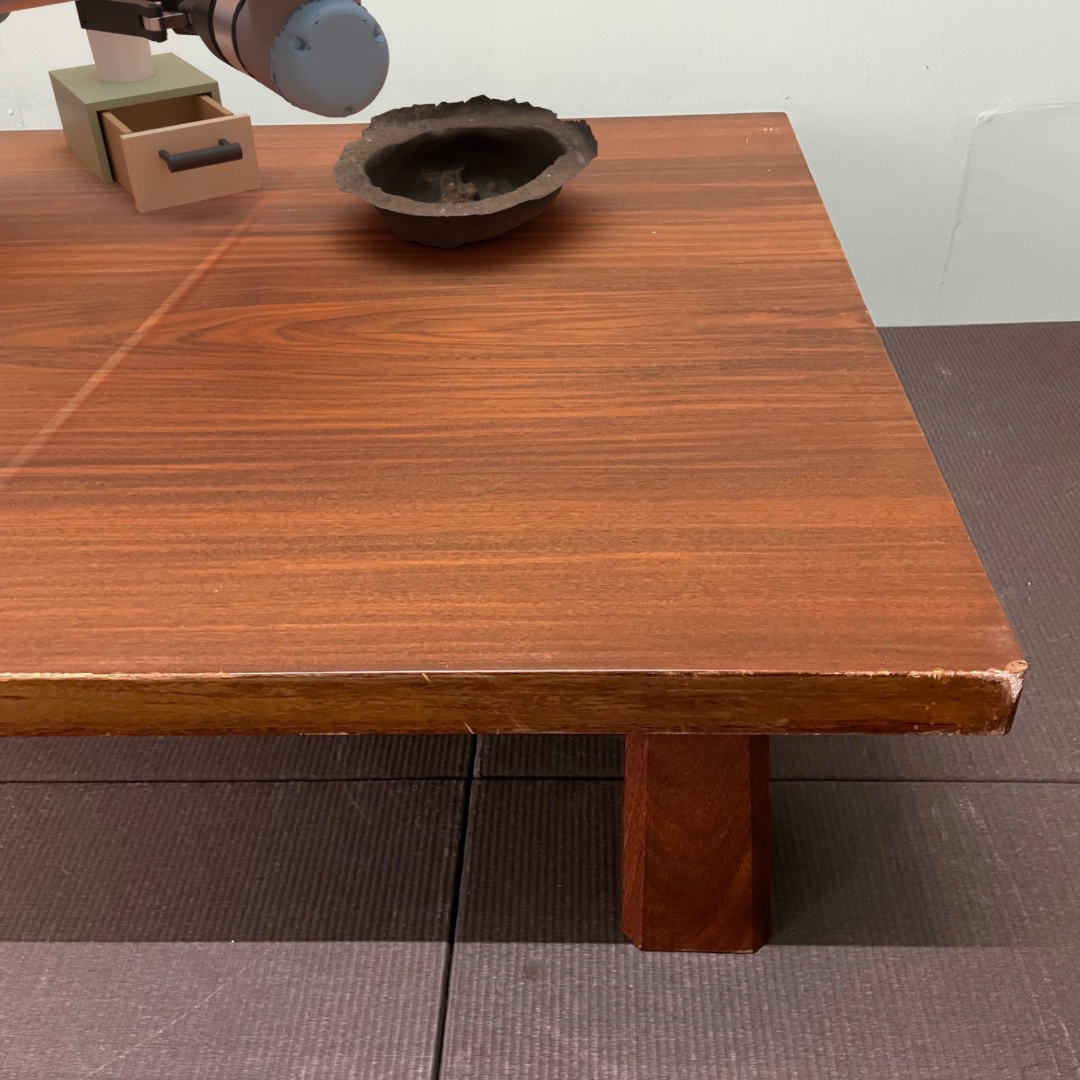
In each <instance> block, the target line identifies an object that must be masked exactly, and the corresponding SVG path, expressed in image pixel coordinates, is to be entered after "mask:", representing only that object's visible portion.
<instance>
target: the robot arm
mask: <svg viewBox="0 0 1080 1080" xmlns="http://www.w3.org/2000/svg"><path fill="white" fill-rule="evenodd" d="M69 2H70V3H71V2H74V4H75V9H76V12H77V13H76V14H77V17H78V22H79V25H80V29H82V30H85V31H86V30H95V31H102V32H109V33H115V34H122V35H129V36H136V37H143V38H146V39H148V40H149V41H150V42H154V43H155V42H156V43H157V44H162V43H164V42H166V41H168V40H169V39H168V35H169V33H168V30H170V29H171V30H172V32H174V34H176V35H179V36H195V37H197V36H199V39H200V40H201V41H202V42H203V44H204V45H205V47H206V48H207V49H208V50H209V51H210V53H211V54H212V55H213V56H214V57H216V58H217V59H218V60H219V61H221V62H222V63H224V64H226V65H228V66H230V67H231V68H233V69H235V70H236V71H238V72H241V73H242V74H245V75H246V76H248V77H250V78H252V79H253V80H255V82H258V83H259V84H260V85H262V86H264V87H266V88H267V89H268V90H270V91H272V92H273V93H274V94H276V95H278V96H279V97H280V98H282V99H283V100H284V101H286V102H287V103H288V104H290V106H293V107H294V108H297V109H299V110H301V111H306V112H308V113H312V114H315V115H317V116H320V117H325V118H331V119H338V118H344V119H345V118H347V117H350V116H353V115H355V114H358V113H360V112H361V111H363V110H365V109H366V108H368V106H370V105H371V104H372V103H373V102H374V101H375V99H376V98H377V97H378V96H379V94H380V93H381V91H382V89H383V88H384V86H385V83H386V80H387V77H388V74H389V67H390V48H389V44H388V40H387V38H386V35H385V33H384V31H383V29H382V26H381V25H380V23H379V22H378V21H377V19H376V17H374V16H373V15H372V14H371V13H370V12H369V11H368V9H367V8H366V7H365V6H363V5H362V0H0V24H1V23H3V22H4V21H6V20H7V19H8V17H10V15H11V13H13V12H19V11H24V10H30V9H35V8H41V7H46V6H48V7H49V6H52V5H58V4H64V3H69Z"/></svg>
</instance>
